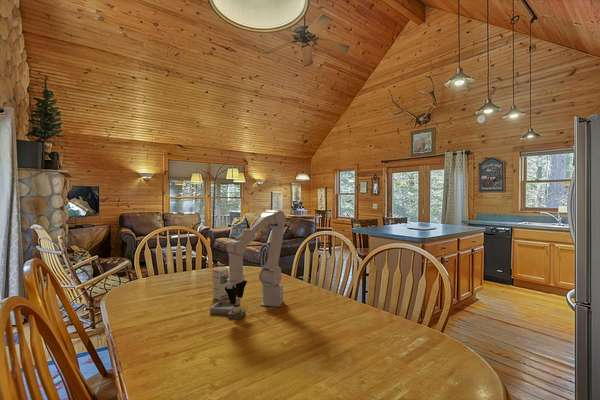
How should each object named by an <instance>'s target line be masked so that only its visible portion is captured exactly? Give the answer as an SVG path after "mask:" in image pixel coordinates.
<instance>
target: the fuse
mask: <svg viewBox="0 0 600 400" xmlns="http://www.w3.org/2000/svg"><path fill="white" fill-rule="evenodd" d="M240 309H241V298H237V297H236V303H235V304H233V313H240Z"/></svg>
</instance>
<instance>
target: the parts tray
mask: <svg viewBox="0 0 600 400" xmlns="http://www.w3.org/2000/svg"><path fill="white" fill-rule="evenodd" d="M232 309H233V304H230V301H229V300H222V299H221V300H218V301H217V302H216V303H214V304H213V305H212V306H211V307H209V314H210V315H211V314H212V315H225V316H228V313H229V312H230V311H231V310H232Z"/></svg>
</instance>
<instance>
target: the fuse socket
mask: <svg viewBox="0 0 600 400" xmlns="http://www.w3.org/2000/svg"><path fill="white" fill-rule="evenodd" d="M245 315H246V309H245V308H244V309H243V308H240V313H233V309H232V310H231V311H230V312H229V313H228V315H227V319H233V320H242V318H243V317H244V316H245Z"/></svg>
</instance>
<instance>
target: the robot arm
mask: <svg viewBox="0 0 600 400" xmlns="http://www.w3.org/2000/svg"><path fill="white" fill-rule="evenodd" d="M285 224H286V214H285V213H284V211H283V210H276V209H275V210H270V209H266V210H264V211H263V212H262V213H261V214H260V217H259V218H258V219H257V220H256V221H255V222H254V223H253V224H252V226H251V227H250V228H244V229H243V230H242V232H240V234H238V236H235V238H234V239H232V240H229V242H228V243H227V244H226V247H225V250H226V252H227V253H228V254H227V255H228V263H229V264H228V266H229V267H228V272H229V278H228V279H227V281H228V283H227V286H226V287H225V291H226V293H227V295H228V297H227V298H228V301H230V304H235V303H236V299H237V298H238V299H243V296H244V292H245V289H246V285H247V283H248V280H245V278H246V276H245V274H244V254H245V252H246V250H247V247H248V246H249V245H250V244H251V242H252V241H254V240H255V239H256V234H257V233H259V231H261V230H262V229H263V228H264V227H265V226H269V228H271V236H270V237H271V239H270V245H269V250H268V254H267V259H266V263H265V264H264V265H262V267H261V270H260V272H259V274H258V279H259V281H260V282H261V284H262V301H261V303H260V304H259V305H260V306H265V307H267V306H268V307H281V305H282V304H283V302H284V286H283V285H282V284H280V283H281V281H282V268H281V267H280V266H279V261H280V257H281V250H282V243H283V238H284V234H285V233H284V232H285Z"/></svg>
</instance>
